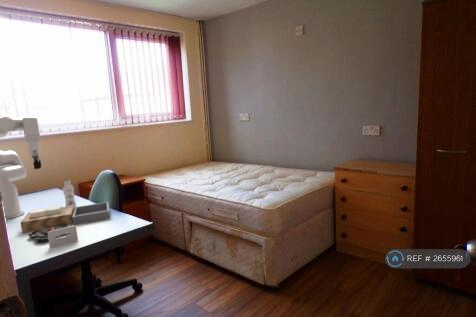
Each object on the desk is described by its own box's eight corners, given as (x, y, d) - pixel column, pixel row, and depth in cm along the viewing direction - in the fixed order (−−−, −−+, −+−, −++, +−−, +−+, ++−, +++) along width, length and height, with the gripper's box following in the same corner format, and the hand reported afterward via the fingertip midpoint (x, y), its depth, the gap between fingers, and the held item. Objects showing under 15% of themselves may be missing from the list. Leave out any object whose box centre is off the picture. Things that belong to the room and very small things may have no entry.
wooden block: (22, 233, 172) (20, 222, 172) (30, 222, 191) (28, 212, 190) (72, 224, 181) (70, 214, 180) (75, 214, 200) (74, 205, 199)
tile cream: (30, 217, 179) (29, 213, 178) (33, 214, 185) (32, 210, 185) (45, 215, 181) (44, 211, 181) (47, 212, 188) (46, 207, 187)
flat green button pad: (27, 238, 165) (25, 229, 165) (63, 227, 179) (62, 219, 178) (40, 246, 154) (38, 236, 153) (78, 233, 167) (77, 224, 167)
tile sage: (46, 215, 182) (45, 210, 181) (48, 211, 188) (47, 207, 188) (60, 213, 184) (59, 208, 184) (61, 209, 190) (61, 205, 190)
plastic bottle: (66, 213, 204) (61, 182, 201) (66, 210, 210) (61, 180, 207) (77, 211, 207) (72, 180, 204) (77, 208, 213) (72, 178, 210)
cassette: (77, 239, 157) (75, 224, 156) (78, 241, 156) (76, 225, 155) (49, 247, 151) (46, 231, 149) (50, 248, 149) (47, 232, 148)
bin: (73, 224, 180) (72, 217, 180) (76, 214, 201) (75, 207, 200) (109, 218, 187) (108, 210, 187) (109, 208, 208) (108, 201, 207)
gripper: (26, 138, 192) (31, 167, 194) (24, 139, 177) (29, 170, 179) (40, 137, 195) (45, 165, 198) (39, 138, 180) (45, 168, 183)
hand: (38, 167), depth 189 cm, fingers open, 9 cm apart
